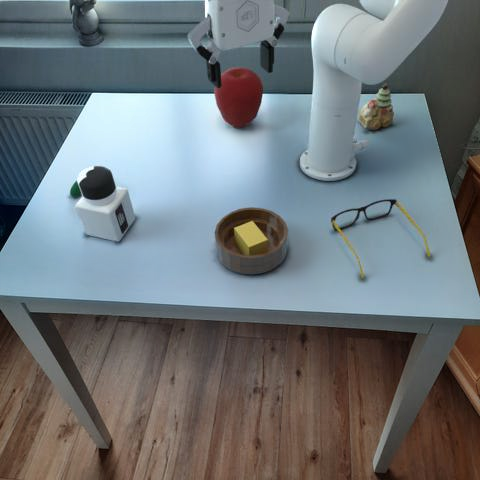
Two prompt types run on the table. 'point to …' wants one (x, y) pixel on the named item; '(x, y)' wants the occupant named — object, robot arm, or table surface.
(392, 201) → the eyeglasses
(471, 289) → the table surface
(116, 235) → the container
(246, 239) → the cheese
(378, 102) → the ornament
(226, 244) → the bowl
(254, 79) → the apple
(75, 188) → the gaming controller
